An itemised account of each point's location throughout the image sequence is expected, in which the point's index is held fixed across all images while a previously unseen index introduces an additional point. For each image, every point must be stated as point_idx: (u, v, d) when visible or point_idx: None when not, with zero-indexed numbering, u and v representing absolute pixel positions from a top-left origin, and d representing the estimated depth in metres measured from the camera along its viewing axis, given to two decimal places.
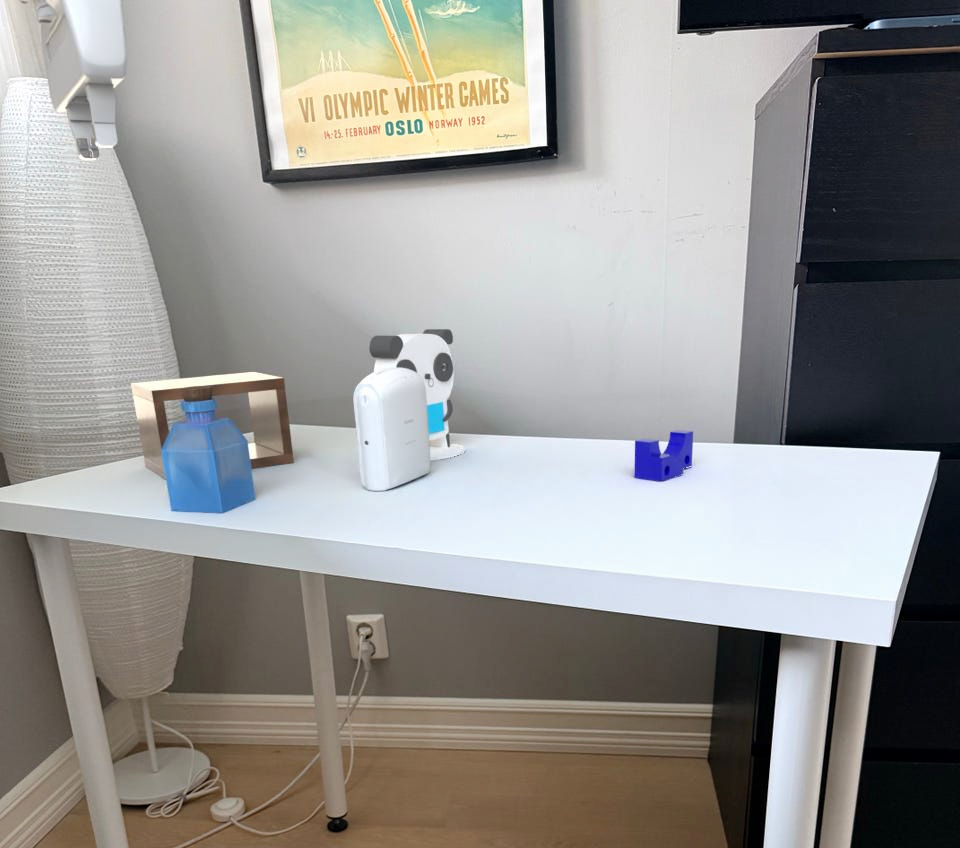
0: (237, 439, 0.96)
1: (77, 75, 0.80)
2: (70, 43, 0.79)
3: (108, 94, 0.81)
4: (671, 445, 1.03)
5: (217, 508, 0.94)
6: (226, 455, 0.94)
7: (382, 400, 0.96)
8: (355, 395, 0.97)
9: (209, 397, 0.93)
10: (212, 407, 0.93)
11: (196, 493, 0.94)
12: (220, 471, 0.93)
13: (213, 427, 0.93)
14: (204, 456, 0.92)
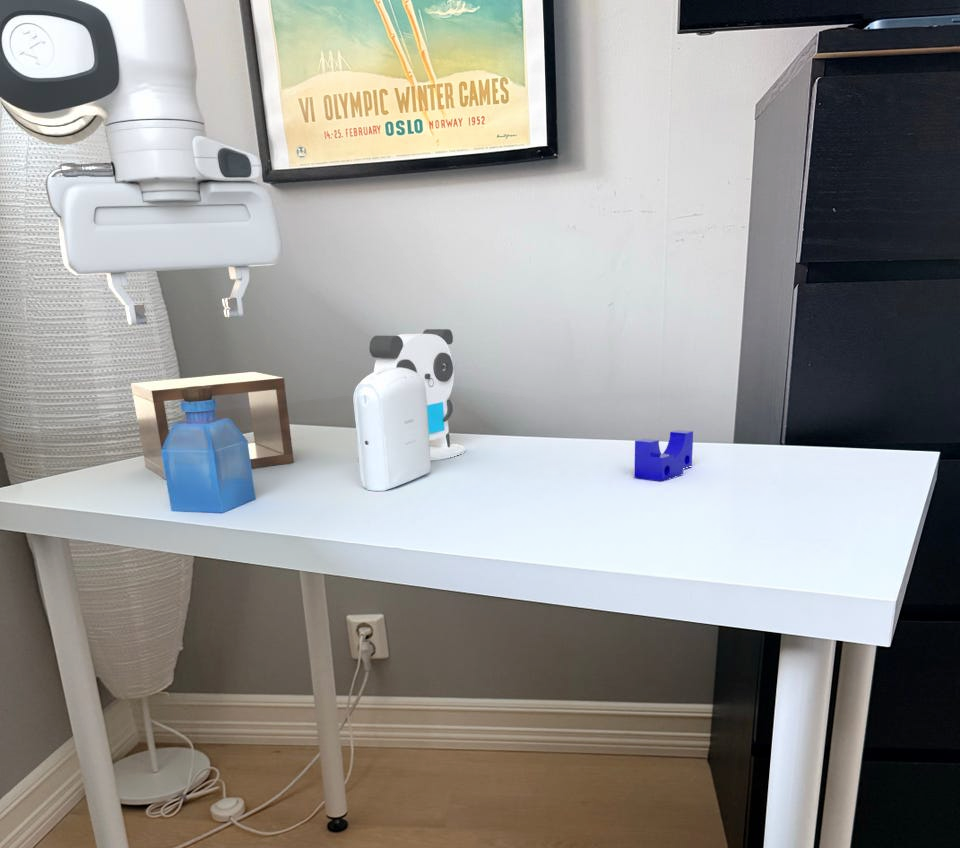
0: (237, 439, 0.96)
1: (250, 259, 0.91)
2: (240, 232, 0.89)
3: None
4: (671, 445, 1.03)
5: (217, 508, 0.94)
6: (226, 455, 0.94)
7: (382, 400, 0.96)
8: (355, 395, 0.97)
9: (209, 397, 0.93)
10: (212, 407, 0.93)
11: (196, 493, 0.94)
12: (220, 471, 0.93)
13: (213, 427, 0.93)
14: (204, 456, 0.92)
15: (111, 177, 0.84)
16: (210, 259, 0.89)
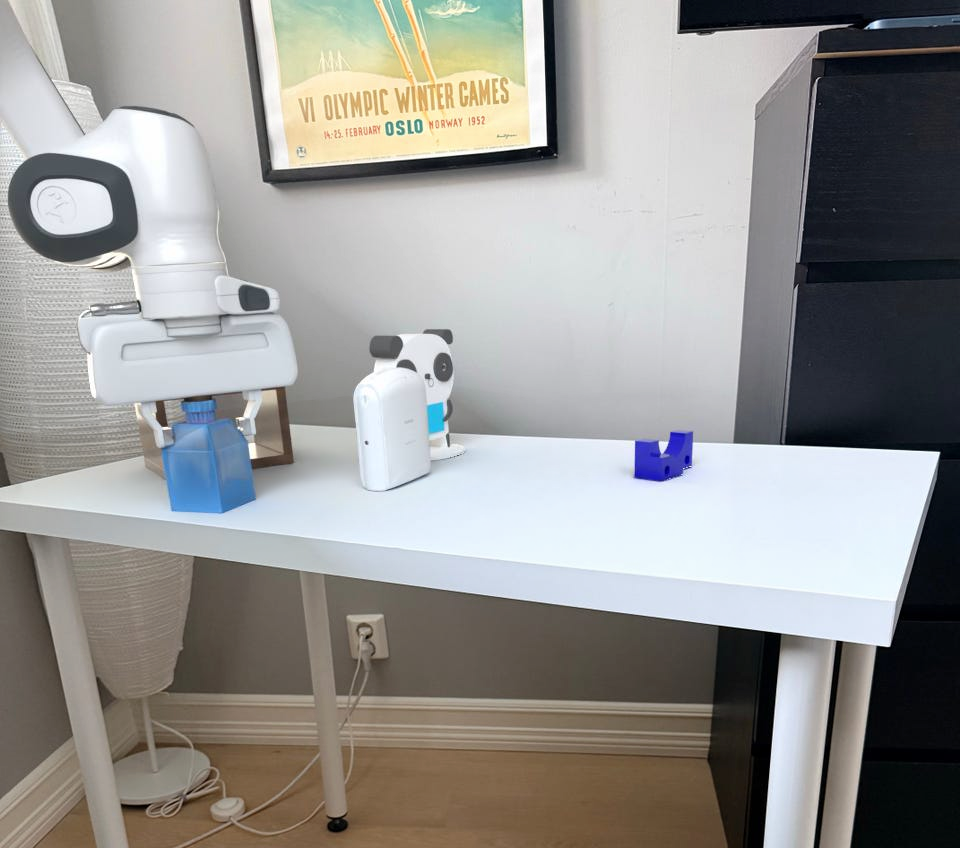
0: (237, 439, 0.96)
1: (268, 383, 0.95)
2: (258, 358, 0.94)
3: None
4: (671, 445, 1.03)
5: (217, 508, 0.94)
6: (226, 455, 0.94)
7: (382, 400, 0.96)
8: (355, 395, 0.97)
9: (209, 398, 0.93)
10: (212, 407, 0.93)
11: (196, 493, 0.94)
12: (220, 471, 0.93)
13: (213, 427, 0.93)
14: (204, 457, 0.92)
15: (137, 314, 0.88)
16: (230, 385, 0.93)
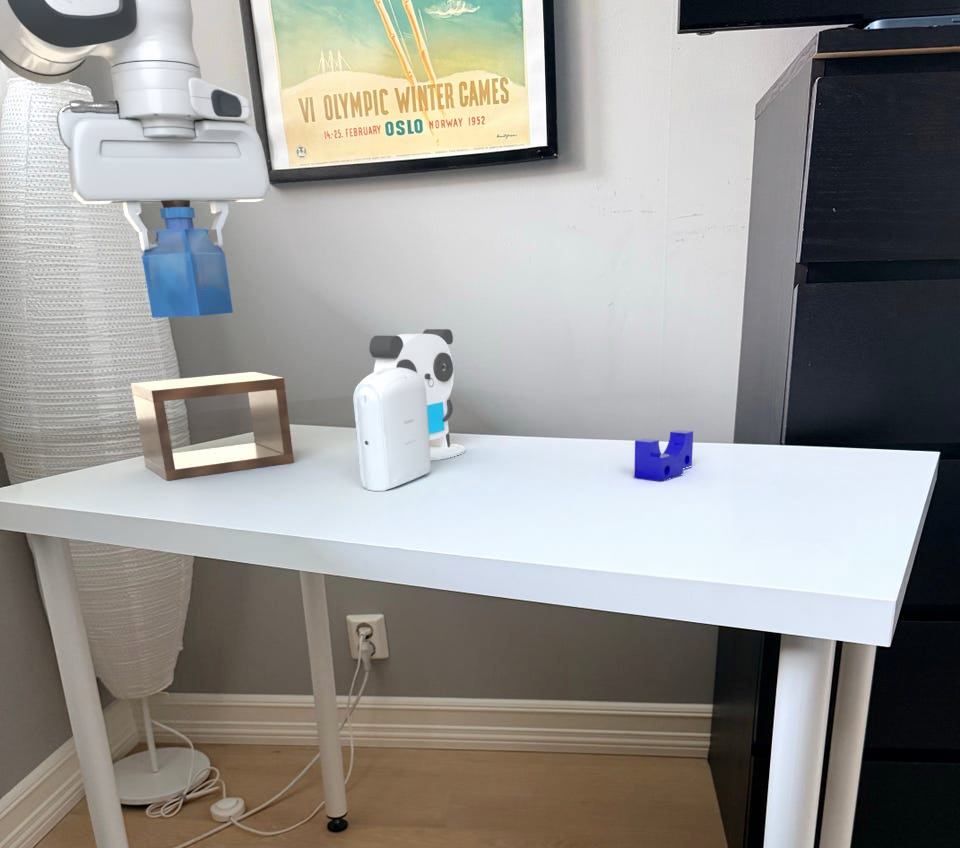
0: (214, 249, 1.01)
1: (240, 193, 1.00)
2: (231, 168, 0.99)
3: None
4: (671, 445, 1.03)
5: (194, 311, 0.99)
6: (203, 261, 0.99)
7: (382, 400, 0.96)
8: (355, 395, 0.97)
9: (187, 205, 0.98)
10: (190, 214, 0.98)
11: (175, 297, 0.99)
12: (197, 274, 0.98)
13: (191, 232, 0.98)
14: (182, 259, 0.97)
15: (115, 114, 0.93)
16: (204, 192, 0.98)
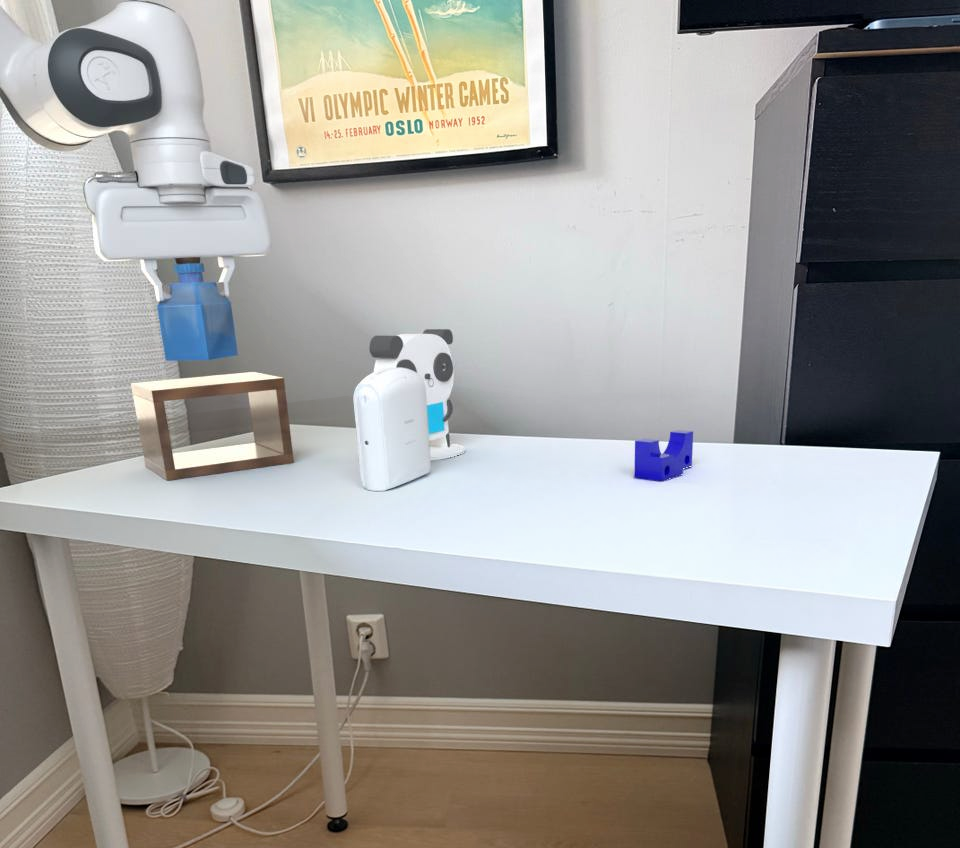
0: (222, 299, 1.12)
1: (245, 250, 1.12)
2: (237, 228, 1.10)
3: None
4: (671, 445, 1.03)
5: (204, 356, 1.11)
6: (212, 311, 1.11)
7: (382, 400, 0.96)
8: (355, 395, 0.97)
9: (197, 261, 1.10)
10: (200, 269, 1.10)
11: (186, 343, 1.11)
12: (207, 323, 1.10)
13: (201, 285, 1.10)
14: (193, 310, 1.09)
15: (135, 183, 1.05)
16: (213, 250, 1.10)
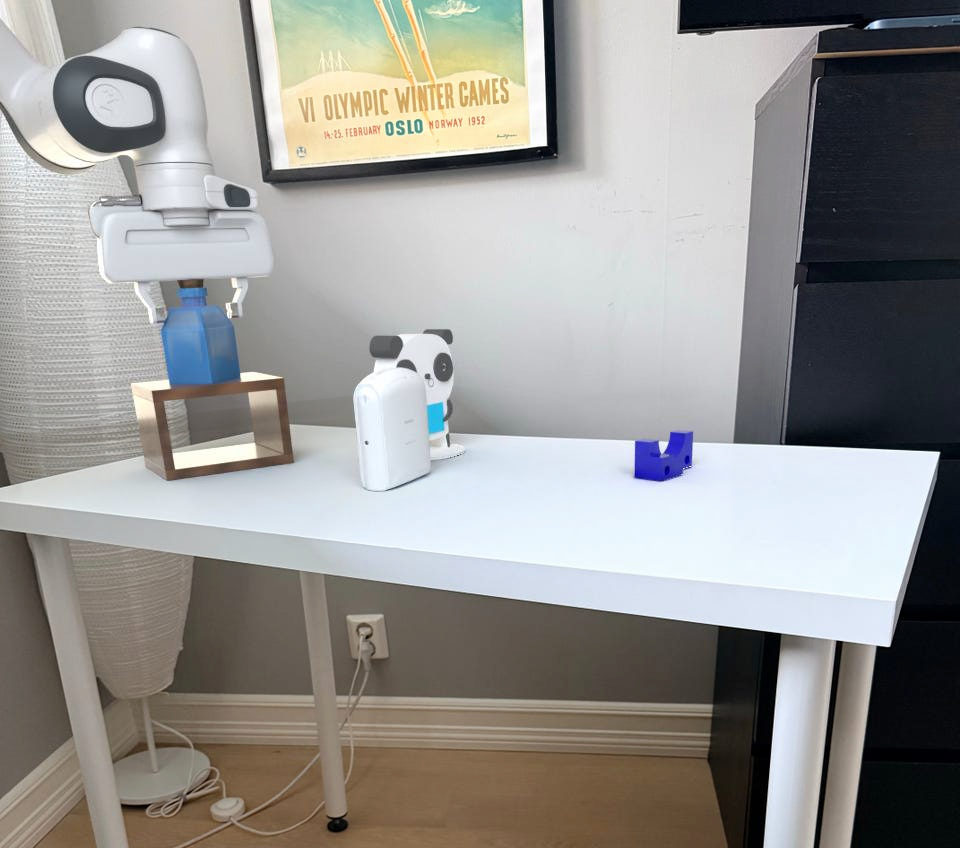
0: (225, 323, 1.13)
1: (249, 272, 1.13)
2: (241, 250, 1.11)
3: None
4: (671, 445, 1.03)
5: (207, 379, 1.12)
6: (215, 335, 1.12)
7: (382, 400, 0.96)
8: (355, 395, 0.97)
9: (201, 285, 1.11)
10: (203, 294, 1.11)
11: (190, 367, 1.12)
12: (210, 347, 1.11)
13: (204, 310, 1.11)
14: (196, 334, 1.10)
15: (139, 206, 1.06)
16: (216, 271, 1.11)
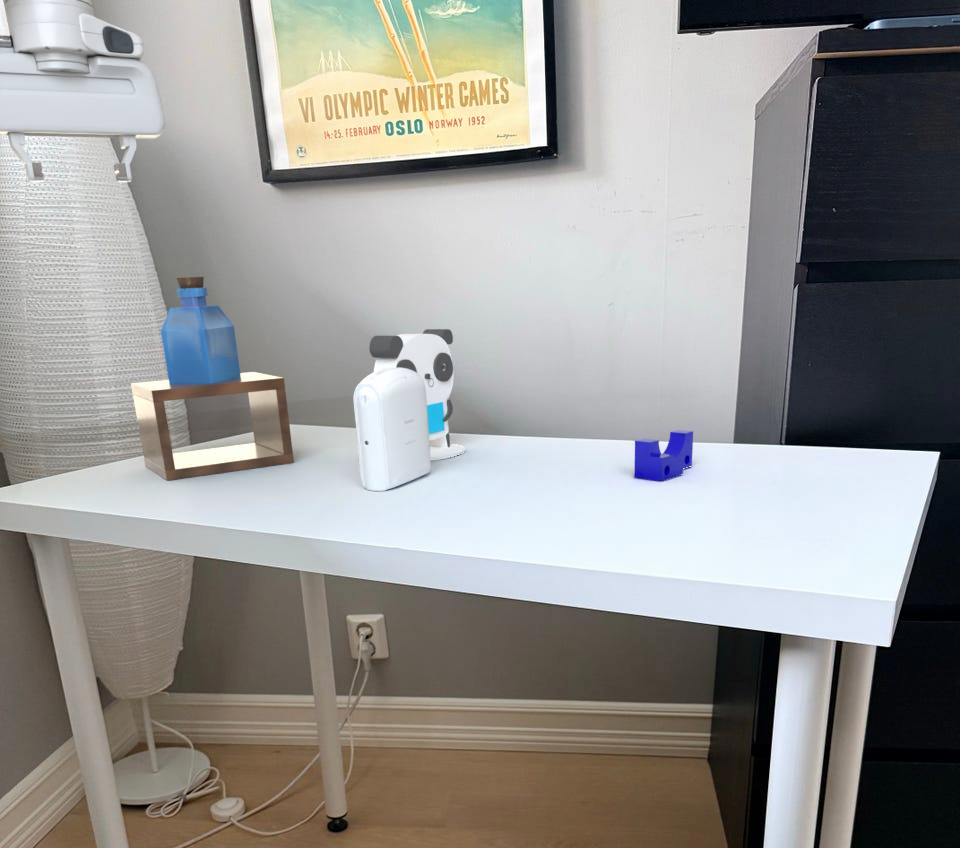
0: (225, 323, 1.13)
1: (136, 129, 1.05)
2: (126, 103, 1.04)
3: None
4: (671, 445, 1.03)
5: (207, 379, 1.12)
6: (215, 335, 1.12)
7: (382, 400, 0.96)
8: (355, 395, 0.97)
9: (201, 285, 1.11)
10: (203, 294, 1.11)
11: (190, 367, 1.12)
12: (210, 347, 1.11)
13: (204, 310, 1.11)
14: (196, 334, 1.10)
15: (10, 48, 0.98)
16: (99, 126, 1.03)
